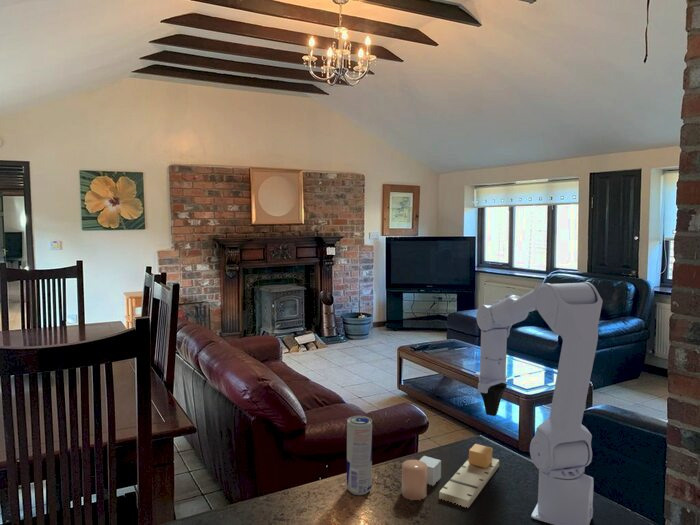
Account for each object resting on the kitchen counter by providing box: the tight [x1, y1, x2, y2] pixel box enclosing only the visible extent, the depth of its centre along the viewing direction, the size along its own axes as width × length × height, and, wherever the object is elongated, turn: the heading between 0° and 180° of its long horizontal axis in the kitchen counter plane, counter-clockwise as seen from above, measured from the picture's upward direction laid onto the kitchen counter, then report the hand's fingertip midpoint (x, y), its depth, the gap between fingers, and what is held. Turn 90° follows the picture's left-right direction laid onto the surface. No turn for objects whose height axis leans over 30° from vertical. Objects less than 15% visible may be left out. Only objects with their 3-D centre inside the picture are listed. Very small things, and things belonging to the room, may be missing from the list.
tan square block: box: [468, 443, 494, 468], centre depth 114 cm, size 4×4×3 cm
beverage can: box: [346, 415, 373, 496], centre depth 105 cm, size 5×5×15 cm
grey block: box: [419, 455, 442, 487], centre depth 111 cm, size 4×4×4 cm
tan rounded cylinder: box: [401, 459, 428, 501], centre depth 105 cm, size 5×5×6 cm
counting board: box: [438, 457, 500, 509], centre depth 110 cm, size 6×20×2 cm, turn 147°
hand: (491, 414), depth 120 cm, fingers closed
